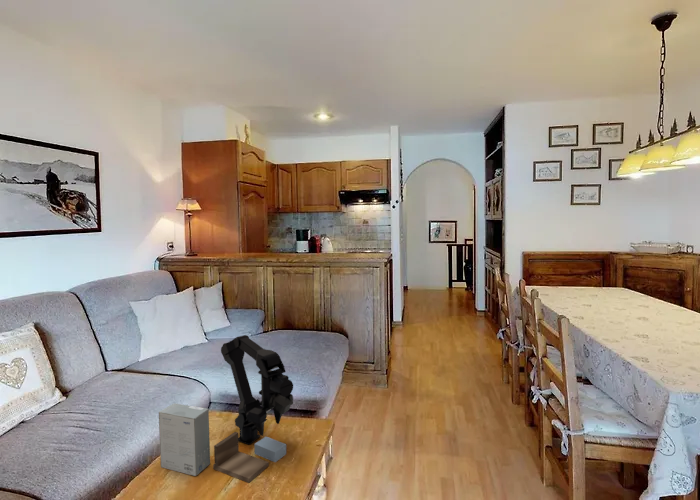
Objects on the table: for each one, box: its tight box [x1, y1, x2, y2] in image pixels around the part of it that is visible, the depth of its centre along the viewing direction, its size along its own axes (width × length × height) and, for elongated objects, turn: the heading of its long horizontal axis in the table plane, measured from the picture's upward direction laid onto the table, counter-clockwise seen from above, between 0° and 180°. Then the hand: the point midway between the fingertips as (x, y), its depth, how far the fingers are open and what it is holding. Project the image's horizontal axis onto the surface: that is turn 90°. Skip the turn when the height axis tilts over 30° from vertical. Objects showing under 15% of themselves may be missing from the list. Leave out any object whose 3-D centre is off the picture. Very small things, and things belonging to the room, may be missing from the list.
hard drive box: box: [158, 403, 211, 477], centre depth 135 cm, size 16×8×20 cm, turn 71°
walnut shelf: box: [212, 431, 270, 483], centre depth 134 cm, size 16×10×8 cm, turn 63°
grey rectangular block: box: [254, 436, 287, 463], centre depth 142 cm, size 10×6×4 cm, turn 58°
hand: (269, 429), depth 142 cm, fingers open, 9 cm apart
